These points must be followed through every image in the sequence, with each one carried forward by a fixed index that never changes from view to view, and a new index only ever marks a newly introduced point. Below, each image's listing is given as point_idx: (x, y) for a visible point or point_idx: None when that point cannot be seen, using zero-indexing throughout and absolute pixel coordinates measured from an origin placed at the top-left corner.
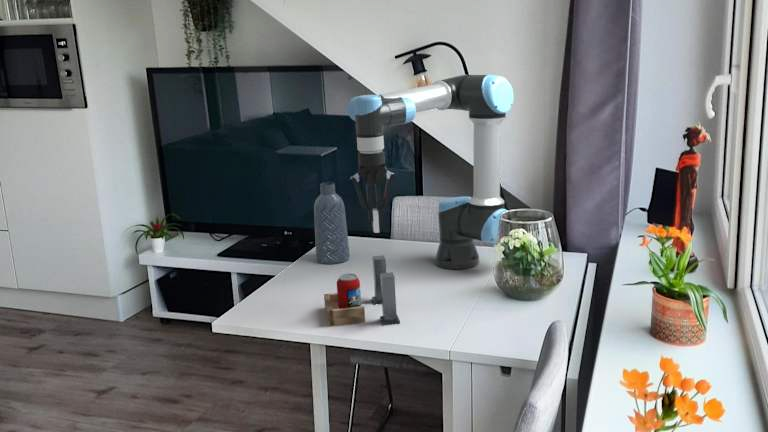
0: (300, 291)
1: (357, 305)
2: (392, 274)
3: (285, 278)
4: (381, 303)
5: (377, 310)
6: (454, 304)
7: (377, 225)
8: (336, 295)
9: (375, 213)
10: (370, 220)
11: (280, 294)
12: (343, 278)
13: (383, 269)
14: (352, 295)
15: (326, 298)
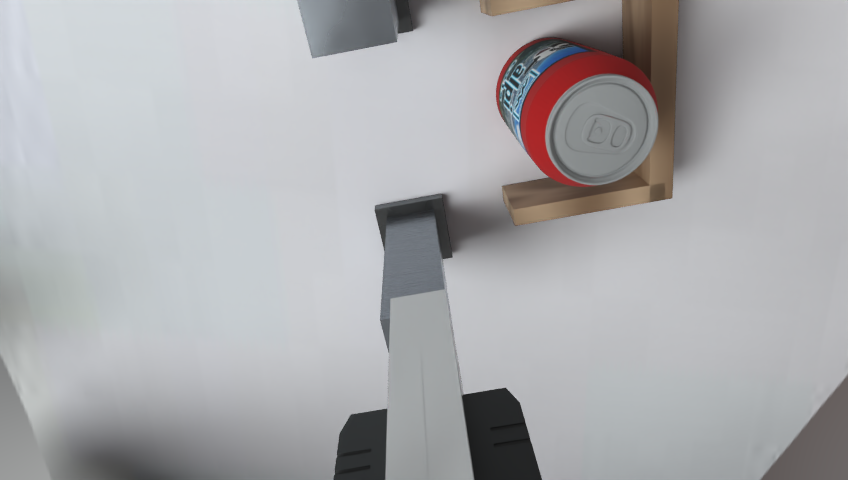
0: (719, 346)
1: (521, 60)
2: (306, 6)
3: (754, 455)
4: (413, 199)
5: (427, 131)
6: (101, 165)
7: (407, 343)
8: (614, 189)
9: (431, 471)
10: (501, 397)
11: (795, 325)
12: (629, 112)
13: (396, 283)
14: (557, 52)
15: (666, 144)
